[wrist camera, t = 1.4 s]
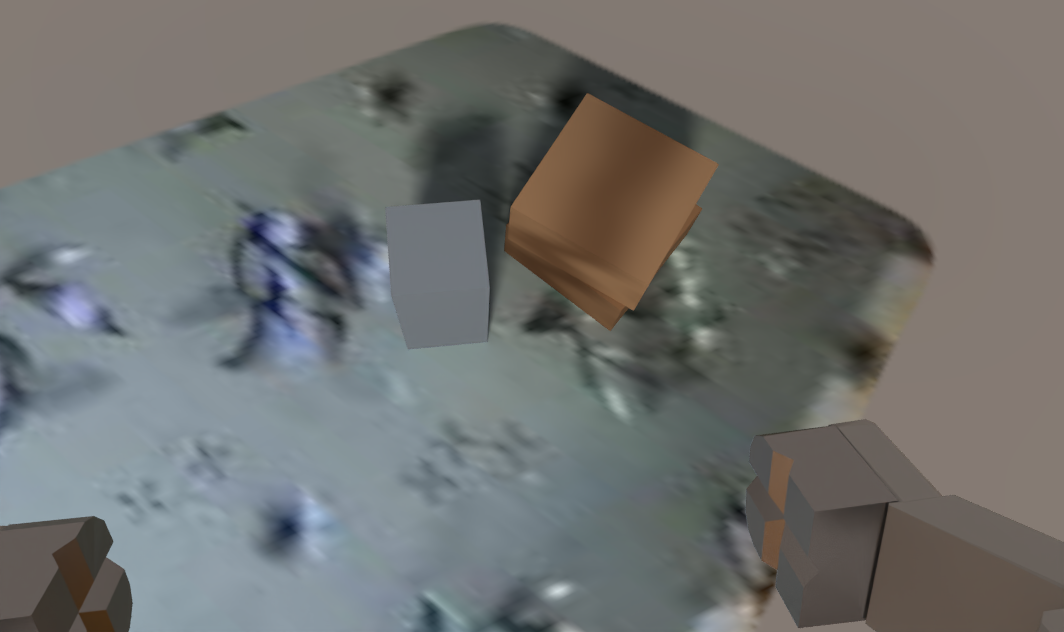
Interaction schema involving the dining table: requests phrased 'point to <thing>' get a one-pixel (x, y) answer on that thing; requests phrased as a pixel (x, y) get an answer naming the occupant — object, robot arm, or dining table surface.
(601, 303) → the tower base
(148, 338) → the dining table surface
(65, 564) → the robot arm
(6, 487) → the dining table surface
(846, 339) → the dining table surface
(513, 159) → the dining table surface
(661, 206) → the tower top
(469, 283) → the pillar
